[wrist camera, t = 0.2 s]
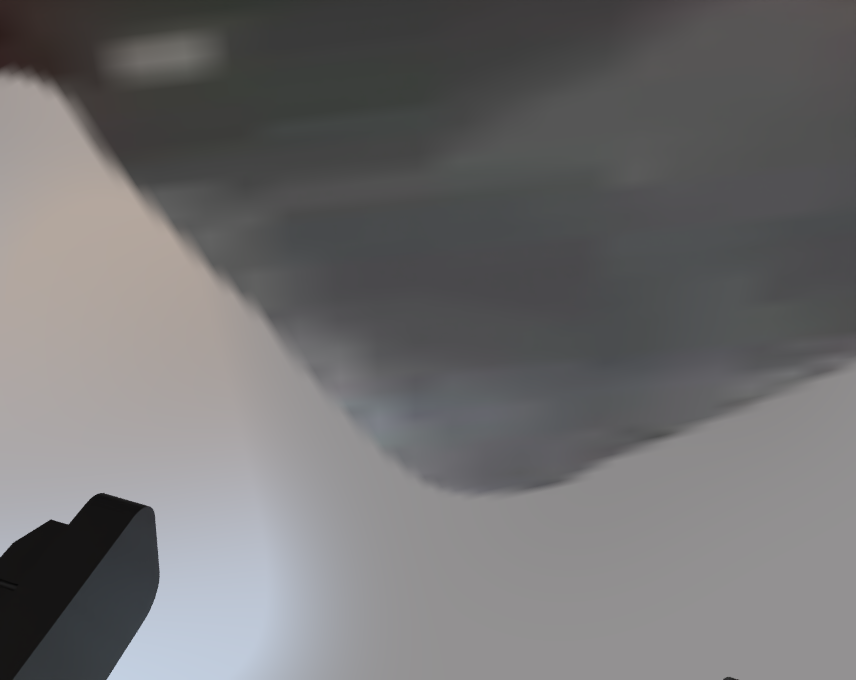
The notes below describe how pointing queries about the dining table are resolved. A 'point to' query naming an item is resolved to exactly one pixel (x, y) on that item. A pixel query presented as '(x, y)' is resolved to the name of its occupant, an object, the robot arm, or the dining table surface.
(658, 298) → the dining table surface
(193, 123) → the dining table surface
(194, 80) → the dining table surface
